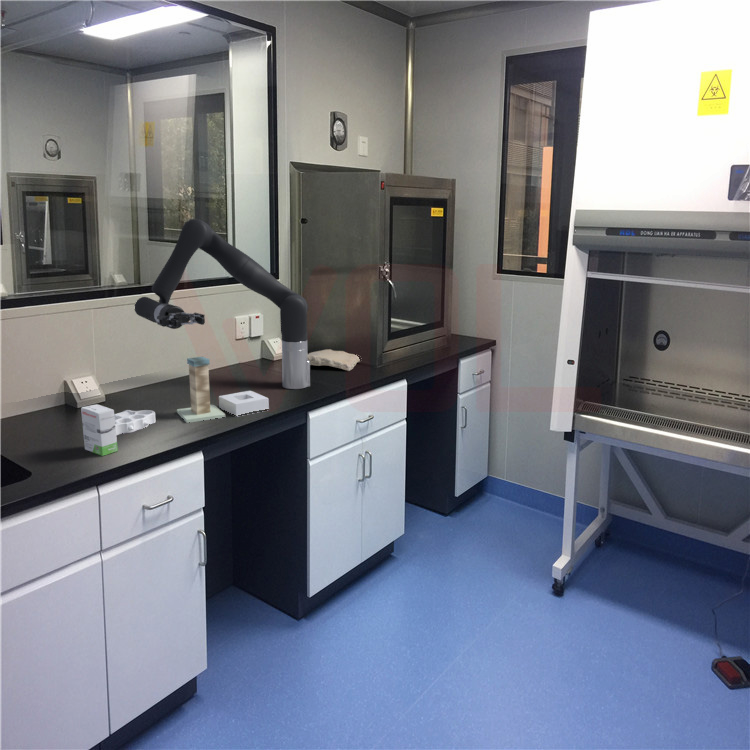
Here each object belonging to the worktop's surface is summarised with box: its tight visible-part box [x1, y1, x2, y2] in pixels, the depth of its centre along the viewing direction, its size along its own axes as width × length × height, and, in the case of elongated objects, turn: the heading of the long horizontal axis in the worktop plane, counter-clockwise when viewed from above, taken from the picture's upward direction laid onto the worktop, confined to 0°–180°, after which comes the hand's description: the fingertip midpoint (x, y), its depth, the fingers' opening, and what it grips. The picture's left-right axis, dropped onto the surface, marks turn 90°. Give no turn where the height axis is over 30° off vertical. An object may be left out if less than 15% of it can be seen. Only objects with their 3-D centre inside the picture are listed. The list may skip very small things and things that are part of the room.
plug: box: [186, 356, 211, 415], centre depth 208 cm, size 5×5×17 cm
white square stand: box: [218, 390, 270, 417], centre depth 217 cm, size 12×12×4 cm
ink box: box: [80, 403, 119, 457], centre depth 177 cm, size 9×5×12 cm, turn 53°
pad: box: [176, 404, 226, 424], centre depth 210 cm, size 12×12×1 cm
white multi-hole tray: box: [114, 409, 157, 436], centre depth 198 cm, size 3×18×15 cm
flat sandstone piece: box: [308, 348, 361, 372], centre depth 277 cm, size 24×8×20 cm
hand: (190, 322), depth 210 cm, fingers open, 8 cm apart
